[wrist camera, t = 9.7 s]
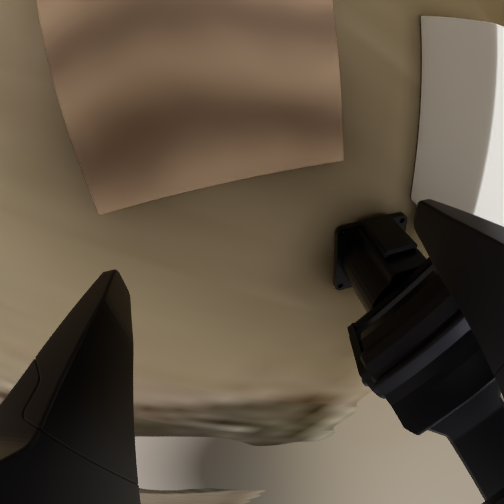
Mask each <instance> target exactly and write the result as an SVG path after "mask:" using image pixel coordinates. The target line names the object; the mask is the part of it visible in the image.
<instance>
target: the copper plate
mask: <svg viewBox="0 0 504 504" xmlns="http://www.w3.org/2000/svg"><path fill="white" fill-rule="evenodd" d="M36 1H37V7H38V14H39V19H40V25H41V30H42V35H43V40H44V45H45V50H46V54H47V58H48V63H49V67H50V71H51V75H52V79H53V82H54V86H55V90H56V94H57V97H58V101H59V104H60V107H61V111H62V114H63V117H64V121H65V124H66V127H67V130H68V133H69V136H70V139H71V142H72V145H73V148H74V151H75V154H76V157H77V159H78V162H79V165H80V168H81V170H82V173H83V176H84V178H85V181H86V184H87V186H88V189H89V191H90V194H91V196H92V199H93V201H94V204H95V206H96V208H97V211H98V213H99V215H102V214H105V213H109V212H112V211H116V210H119V209H123V208H126V207H130V206H133V205H137V204H141V203H145V202H148V201H152V200H156V199H160V198H164V197H168V196H172V195H176V194H180V193H184V192H188V191H192V190H196V189H200V188H205V187H209V186H213V185H218V184H222V183H227V182H232V181H236V180H241V179H246V178H250V177H255V176H260V175H265V174H270V173H275V172H281V171H286V170H291V169H297V168H303V167H308V166H314V165H320V164H326V163H332V162H338V161H343V122H342V101H341V84H340V70H339V58H338V47H337V37H336V28H335V19H334V11H333V4H332V0H36Z"/></svg>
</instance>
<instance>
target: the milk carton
mask: <svg viewBox="0 0 504 504" xmlns="http://www.w3.org/2000/svg"><path fill="white" fill-rule="evenodd" d="M421 37H422V84H421V107H420V122H419V134H418V145H417V154H416V163H415V171H414V178H413V185H412V192H411V200H412V201H413V202H414V203H415V204H416V205H417V204H418V202H419V201H421V200H425V199H432V200H435V201H438V202H441V203H443V204H446V205H449V206H452V207H454V208H457V209H460V210H463V211H465V212H468V213H471V214H473V215H476V216H478V217H481V218H483V219H486V220H488V221H491V222H493V223H496V224H498V225H501V226H503V227H504V27H503V26H500V25H498V24H495V23H490V22H484V21H477V20H470V19H461V18H451V17H438V16H421Z"/></svg>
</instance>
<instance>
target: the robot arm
mask: <svg viewBox="0 0 504 504" xmlns="http://www.w3.org/2000/svg"><path fill="white" fill-rule="evenodd" d="M406 223H407V217H406V216H405V215H404V214H403V213H398V214H394V215H389V216H384V217H379V218H375V219H370V220H366V221H362V222H358V223H353V224H349V225H345V226H341V227H339V228H337V230H336V232H335V265H334V287H335V288H336V289H337V290H341V289H345V288H349V287H353V289H354V291H355V292H356V294H357V296H358V298H359V299H360V301H361V303H362V304H363V306H364V308H365V310H366V311H367V313H366V314H365V315H364V316H363V317H361V318H360V319H359V320H358V321H356V322H355V323H352V324H351V325H350V326H348V327H347V328H348V332H349V336H350V337H349V338H350V342H351V345H352V349H353V353H354V356H355V360H356V364H357V368H358V372H359V375H360V376H361V378H362V382H363V384H364V385H365V386H368V387H370V388H371V390H372V391H373V392H374V393H376V395H378V396H379V397H381V398H383V399H387V401H388V402H389V404H390V405H391V406H392V408H393V409H394V411H395V413H396V415H397V416H398V418H399V420H400V421H401V423H402V425H403V427H404V428H405V429H407V430H409V431H410V432H412V433H414V434H416V435H420V434H422V433H423V432H425V431H427V430H430V431H432V432H435V433H438V434H441V435H444V436H446V437H447V438H448V440H449V441H450V443H451V444H452V446H453V447H454V449H455V451H456V452H457V454H458V455H459V457H460V458H461V460H462V462H463V464H464V465H465V467H466V469H467V470H468V472H469V474H470V475H471V477H472V479H473V480H474V482H475V484H476V486H477V487H478V489H479V491H480V493H481V494H482V496H483V498H484V499H485V502H483V503H482V504H504V399H503V398H504V227H503V226H501V225H498V224H496V223H493V222H491V221H488V220H486V219H483V218H481V217H478V216H476V215H473V214H471V213H468V212H465V211H463V210H460V209H457V208H454V207H452V206H449V205H446V204H443V203H441V202H438V201H435V200H432V199H425V200H421V201H419V202H418V204H417V208H416V214H415V220H414V228H415V231H416V233H417V235H418V236H419V238H420V240H421V242H422V244H423V245H424V247H425V249H426V251H427V253H428V255H429V258H428V259H426V258H425V257H424V256H423V254H422V253H421V252H420V251H419V250H418V249H417V244H416V243H415V242H414V241H413V240H412V238H411V237H410V236H409V235H408V234H407V233H406V232H405V229H406ZM342 232H344V233H343V234H341V233H342ZM339 284H340V285H339ZM501 393H502V396H503V398H502V396H501ZM137 484H138V477H137V465H136V452H135V435H134V410H133V332H132V319H131V302H130V294H129V291H128V289H127V287H126V285H125V283H124V281H123V279H122V277H121V275H120V273H119V272H118V271H117V270H110V271H106V272H103V273H102V274H101V275H100V276H99V278H98V279H97V280H96V281H95V282H94V283H93V285H92V286H91V287H90V288H89V289H88V291H87V292H86V293H85V294H84V295H83V297H82V298H81V299H80V300H79V302H78V303H77V304H76V305H75V306H74V308H73V309H72V310H71V311H70V313H69V314H68V315H67V316H66V318H65V319H64V320H63V321H62V323H61V324H60V325H59V327H58V328H57V329H56V331H55V332H54V333H53V334H52V336H51V337H50V338H49V340H48V341H47V342H46V344H45V345H44V346H43V348H42V349H41V350H40V352H39V353H38V355H37V356H36V359H34V360H33V361H32V363H31V364H30V366H29V367H28V368H27V370H26V371H25V373H24V374H23V375H22V377H21V378H20V379H19V381H18V382H17V384H16V385H15V386H14V387H13V389H12V390H11V391H10V393H9V394H8V395H7V397H6V398H5V399H4V400H3V402H2V403H1V404H0V504H141V503H140V495H139V486H138V485H137Z"/></svg>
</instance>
